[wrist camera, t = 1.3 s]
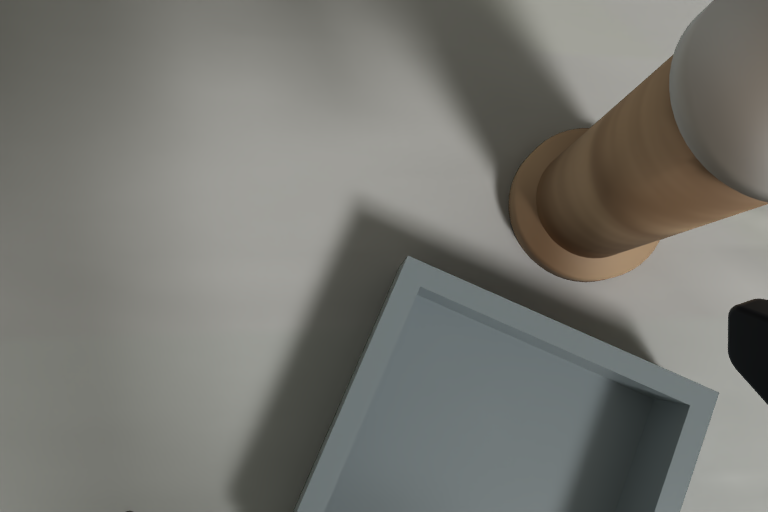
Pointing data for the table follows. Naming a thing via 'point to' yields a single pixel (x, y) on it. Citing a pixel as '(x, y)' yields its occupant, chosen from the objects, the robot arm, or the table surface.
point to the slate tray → (502, 414)
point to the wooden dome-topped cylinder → (655, 155)
